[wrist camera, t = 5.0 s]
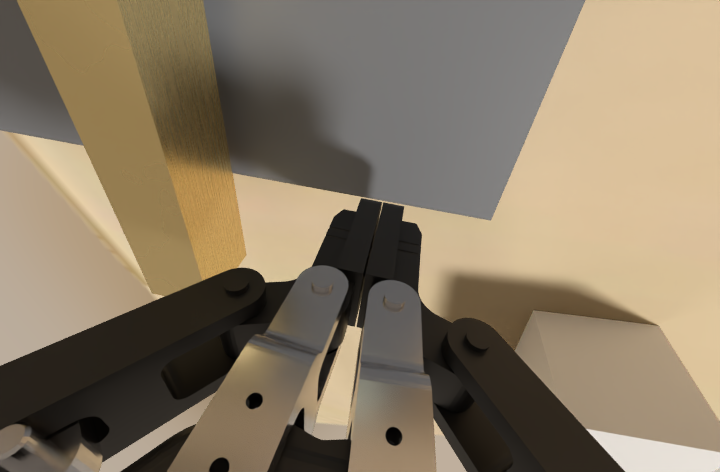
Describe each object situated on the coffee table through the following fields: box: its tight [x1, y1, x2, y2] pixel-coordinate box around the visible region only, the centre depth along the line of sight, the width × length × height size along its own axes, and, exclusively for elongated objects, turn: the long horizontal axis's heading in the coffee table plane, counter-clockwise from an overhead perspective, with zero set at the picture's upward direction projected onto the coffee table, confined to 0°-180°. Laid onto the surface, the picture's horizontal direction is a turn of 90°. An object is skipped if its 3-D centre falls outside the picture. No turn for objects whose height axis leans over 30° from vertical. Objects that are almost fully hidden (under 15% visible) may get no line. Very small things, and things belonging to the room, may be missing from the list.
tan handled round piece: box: [17, 0, 246, 296], centre depth 8 cm, size 18×7×4 cm, turn 174°
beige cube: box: [515, 310, 720, 472], centre depth 17 cm, size 6×6×6 cm
